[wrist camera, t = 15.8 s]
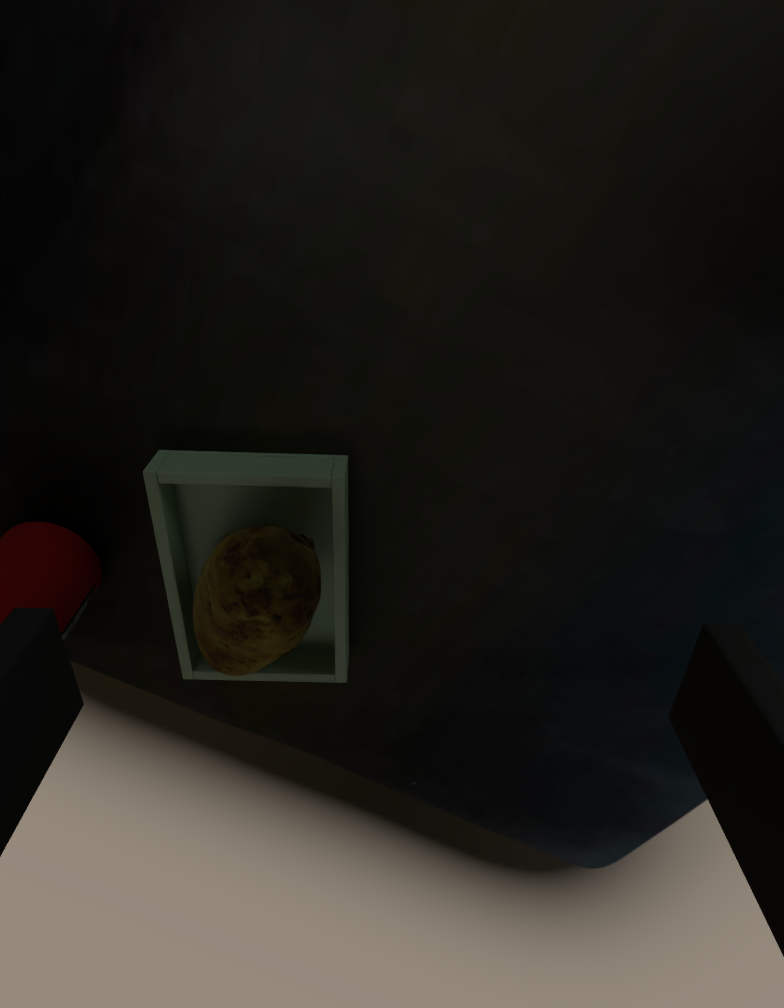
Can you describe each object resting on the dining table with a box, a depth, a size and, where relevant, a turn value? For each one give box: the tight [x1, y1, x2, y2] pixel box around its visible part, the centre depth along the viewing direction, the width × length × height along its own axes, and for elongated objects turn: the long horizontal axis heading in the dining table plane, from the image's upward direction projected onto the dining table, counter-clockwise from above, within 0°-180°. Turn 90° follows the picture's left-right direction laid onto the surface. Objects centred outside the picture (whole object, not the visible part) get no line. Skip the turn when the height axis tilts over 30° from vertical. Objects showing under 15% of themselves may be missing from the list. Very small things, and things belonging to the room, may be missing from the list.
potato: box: [193, 524, 321, 676], centre depth 38 cm, size 8×13×8 cm, turn 135°
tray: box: [143, 450, 349, 683], centre depth 41 cm, size 12×17×3 cm
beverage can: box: [0, 522, 102, 641], centre depth 36 cm, size 7×7×12 cm
